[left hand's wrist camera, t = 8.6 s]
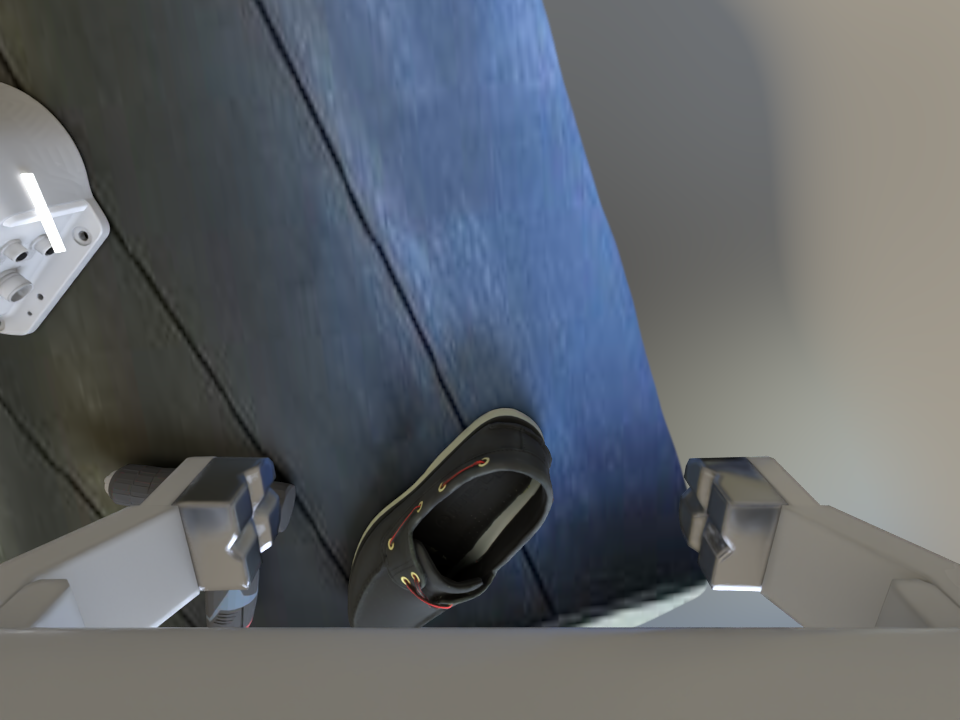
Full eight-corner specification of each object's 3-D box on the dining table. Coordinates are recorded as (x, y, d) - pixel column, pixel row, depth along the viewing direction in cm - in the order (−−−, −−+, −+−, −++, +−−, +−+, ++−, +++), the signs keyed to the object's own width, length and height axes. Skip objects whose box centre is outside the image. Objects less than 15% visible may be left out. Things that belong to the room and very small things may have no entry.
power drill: (131, 587, 62) (121, 444, 55) (288, 609, 64) (298, 471, 57) (100, 625, 57) (86, 472, 50) (271, 648, 59) (280, 502, 52)
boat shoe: (310, 570, 62) (281, 649, 52) (499, 388, 53) (506, 445, 43) (394, 621, 66) (382, 704, 56) (585, 459, 56) (609, 526, 47)
